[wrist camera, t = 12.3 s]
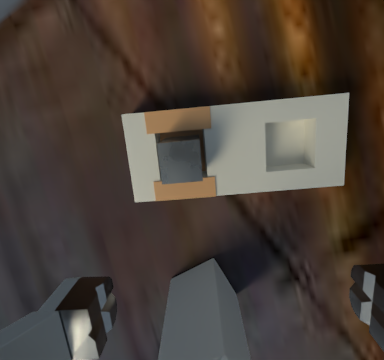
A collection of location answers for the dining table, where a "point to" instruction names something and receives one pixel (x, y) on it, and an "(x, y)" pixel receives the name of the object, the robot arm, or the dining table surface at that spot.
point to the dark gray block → (180, 159)
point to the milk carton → (203, 318)
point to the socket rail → (244, 146)
